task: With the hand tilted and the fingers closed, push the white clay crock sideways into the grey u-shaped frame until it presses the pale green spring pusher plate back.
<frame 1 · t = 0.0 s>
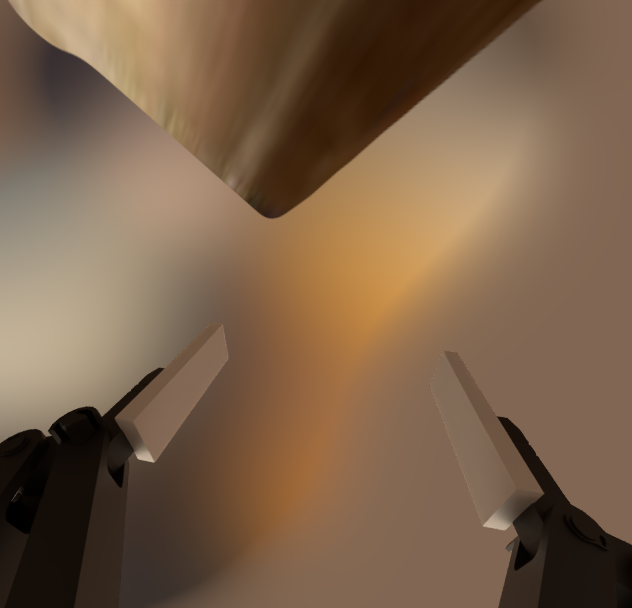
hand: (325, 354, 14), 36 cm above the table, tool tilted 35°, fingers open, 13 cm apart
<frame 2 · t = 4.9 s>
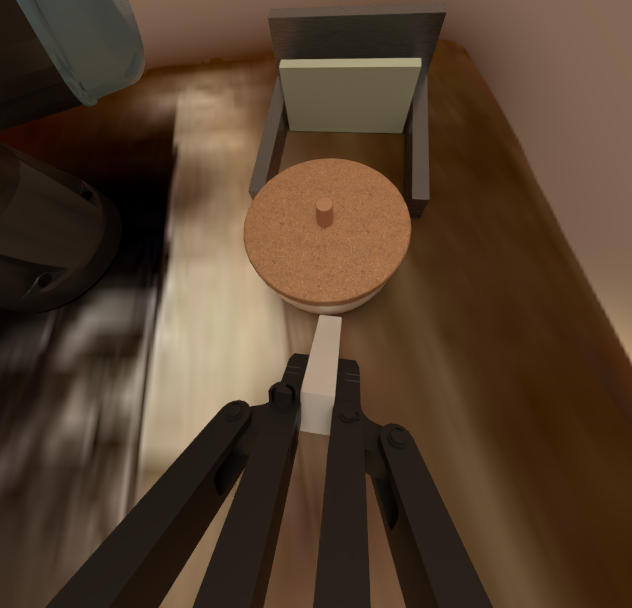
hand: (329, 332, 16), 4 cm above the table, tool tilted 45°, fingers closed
lidded jar: (327, 273, 22), on the table, touching gripper
pusher: (346, 99, 24), point 3 cm above the table, slide at 0.0 cm
grey u-shaped frame: (342, 150, 26), on the table
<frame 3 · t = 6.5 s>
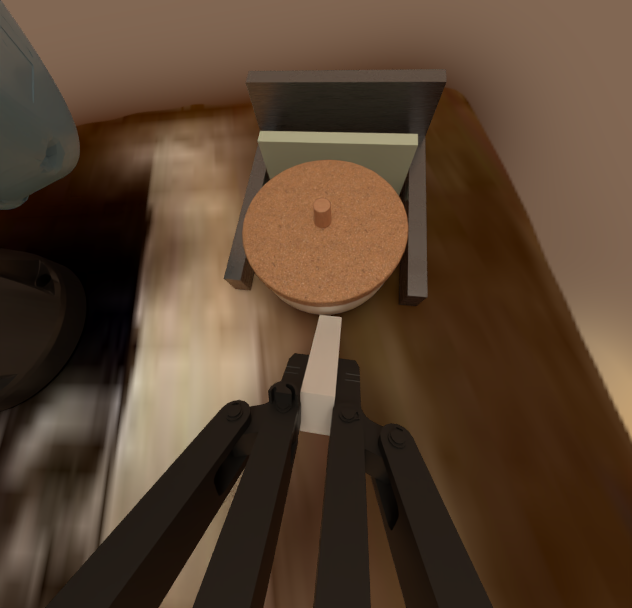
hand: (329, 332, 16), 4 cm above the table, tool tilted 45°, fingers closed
lidded jar: (326, 274, 22), on the table, touching gripper
pusher: (335, 168, 22), point 3 cm above the table, slide at 0.0 cm
grey u-shaped frame: (331, 219, 24), on the table
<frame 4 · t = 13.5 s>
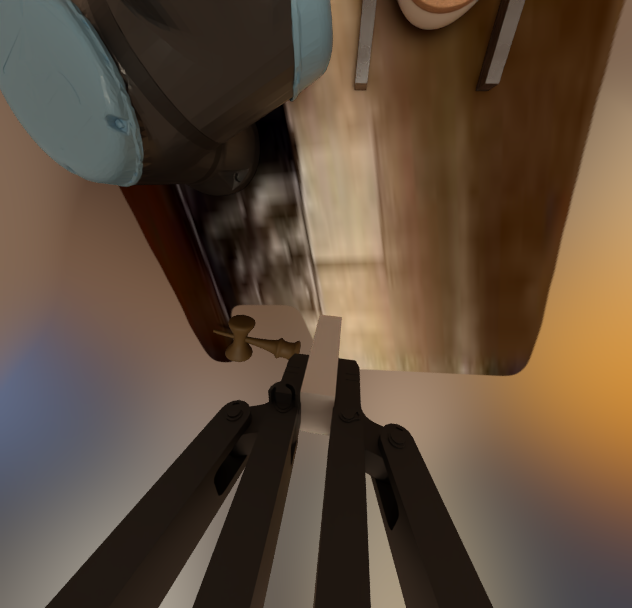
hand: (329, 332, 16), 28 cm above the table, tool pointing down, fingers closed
kendama: (261, 334, 54), on the table
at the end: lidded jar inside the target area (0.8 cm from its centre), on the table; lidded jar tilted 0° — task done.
